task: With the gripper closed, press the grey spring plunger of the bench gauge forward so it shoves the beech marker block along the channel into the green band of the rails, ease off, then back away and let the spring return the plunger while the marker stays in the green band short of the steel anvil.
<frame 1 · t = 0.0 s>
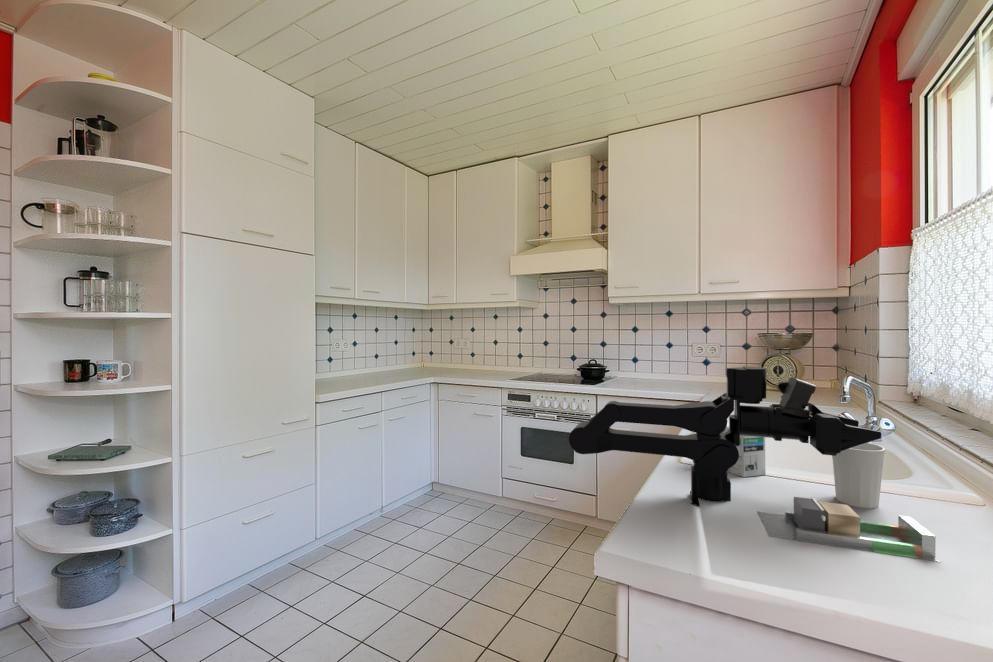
hand: (868, 428, 77), 17 cm above the counter, tool horizontal, fingers open, 9 cm apart
plunger: (809, 516, 71), point 4 cm above the counter, slide at 0.0 cm
cup: (856, 508, 83), on the counter
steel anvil: (915, 552, 67), resting on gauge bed
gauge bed: (838, 541, 70), on the counter
light bulb box: (736, 470, 105), on the counter
marker block: (838, 533, 70), point 1 cm above the counter, touching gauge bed
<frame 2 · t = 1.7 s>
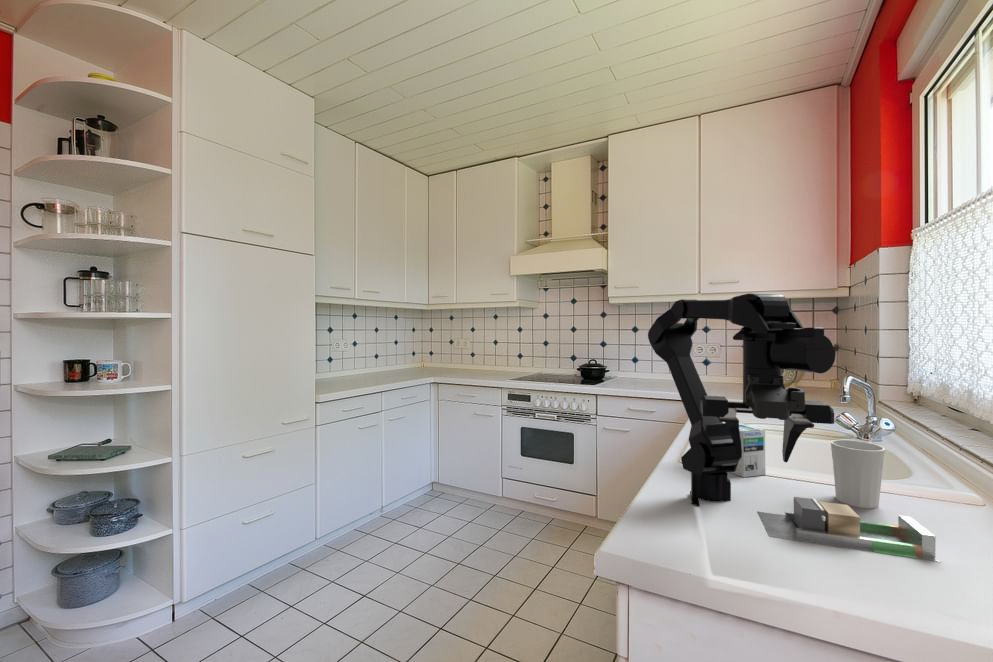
hand: (762, 459, 74), 12 cm above the counter, tool pointing down, fingers open, 6 cm apart
nothing on the counter moved.
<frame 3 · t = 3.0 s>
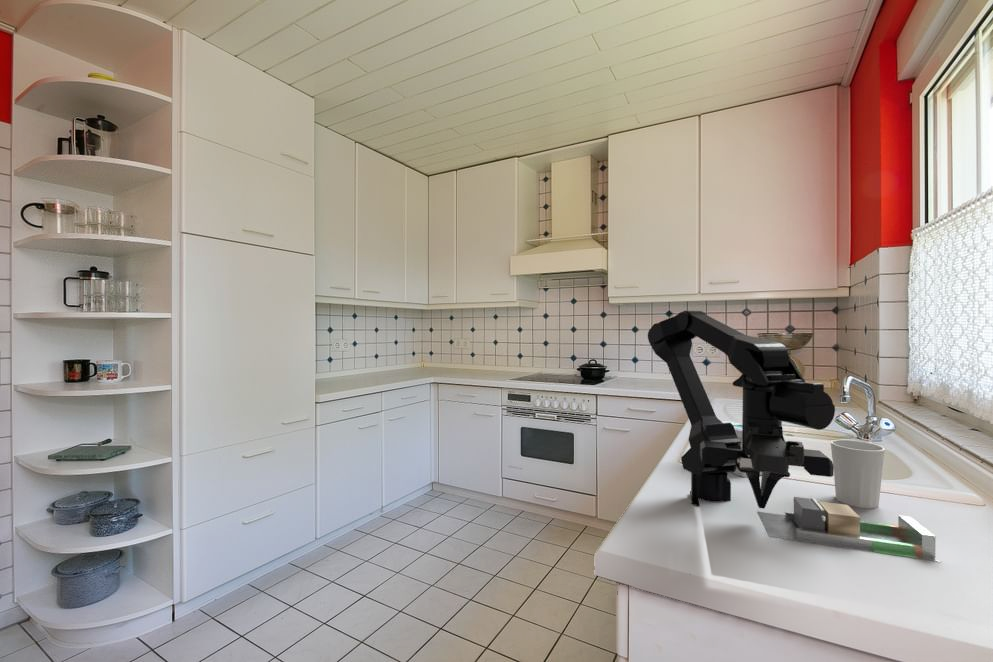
hand: (761, 507, 74), 4 cm above the counter, tool pointing down, fingers closed
nothing on the counter moved.
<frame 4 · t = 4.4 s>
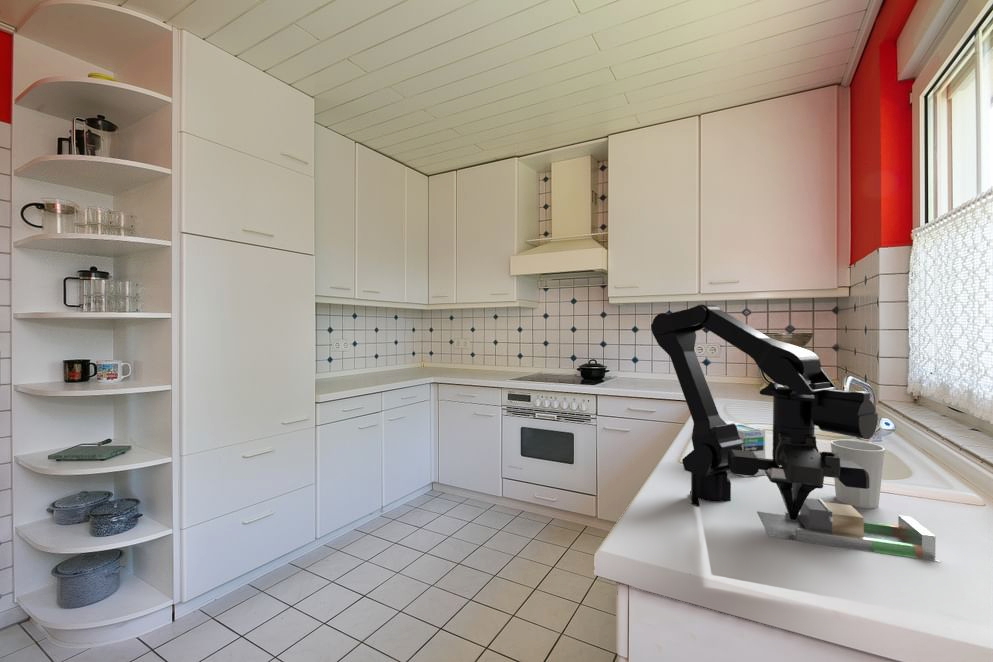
hand: (792, 519, 72), 3 cm above the counter, tool pointing down, fingers closed
plunger: (816, 517, 71), point 4 cm above the counter, slide at 1.0 cm, touching gripper, marker block
marker block: (841, 534, 70), point 1 cm above the counter, touching plunger
everything else where it was.
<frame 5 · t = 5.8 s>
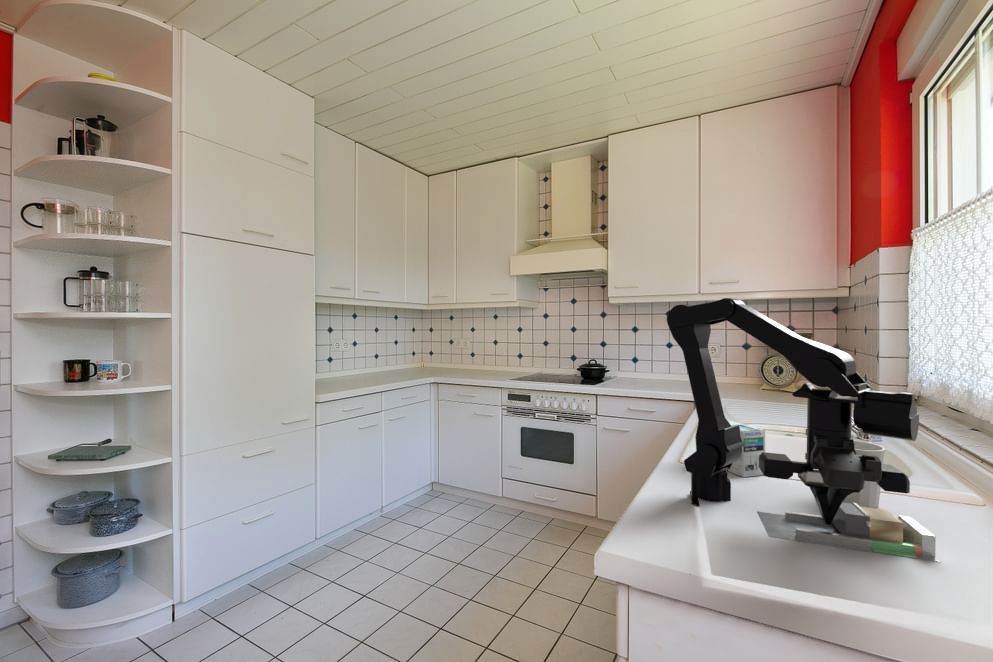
hand: (827, 523, 71), 3 cm above the counter, tool pointing down, fingers closed
plunger: (852, 521, 69), point 4 cm above the counter, slide at 5.7 cm, touching gripper, marker block
marker block: (878, 539, 68), point 1 cm above the counter, touching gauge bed, plunger
everything else where it was.
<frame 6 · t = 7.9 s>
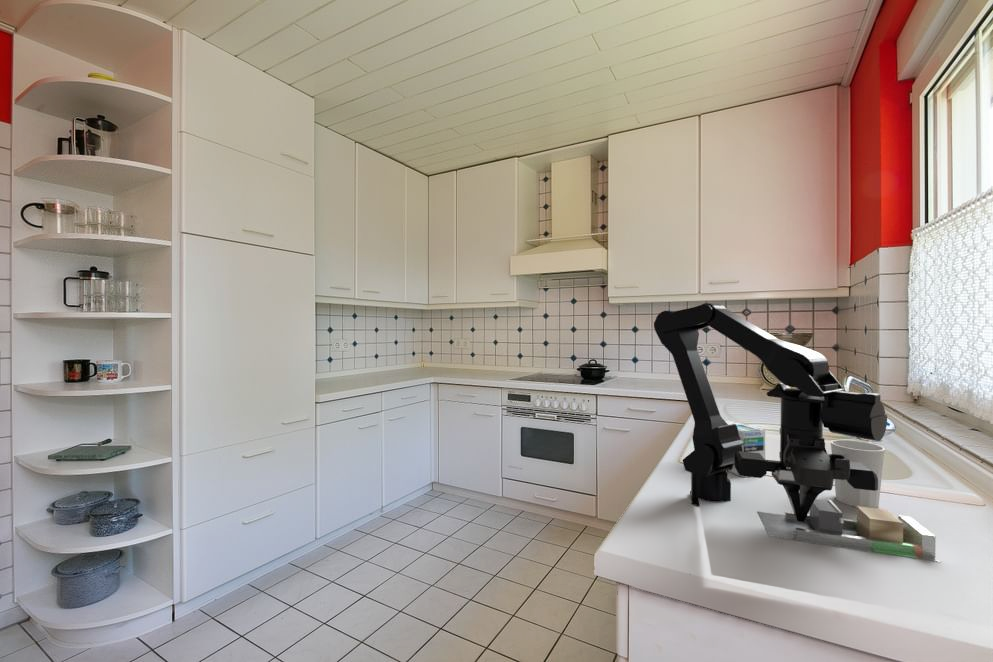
hand: (799, 520, 72), 2 cm above the counter, tool pointing down, fingers closed
plunger: (826, 518, 70), point 4 cm above the counter, slide at 2.3 cm, touching gripper
marker block: (878, 539, 68), point 1 cm above the counter, touching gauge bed
everything else where it was.
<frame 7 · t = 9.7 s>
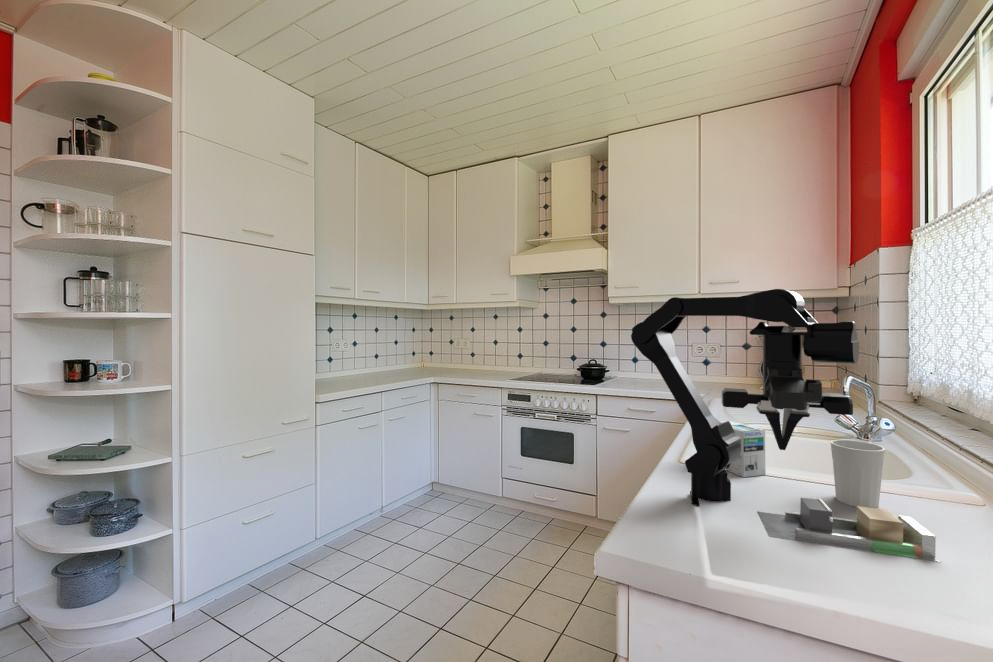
hand: (782, 449, 77), 13 cm above the counter, tool pointing down, fingers closed
plunger: (816, 517, 71), point 4 cm above the counter, slide at 1.0 cm
everything else where it was.
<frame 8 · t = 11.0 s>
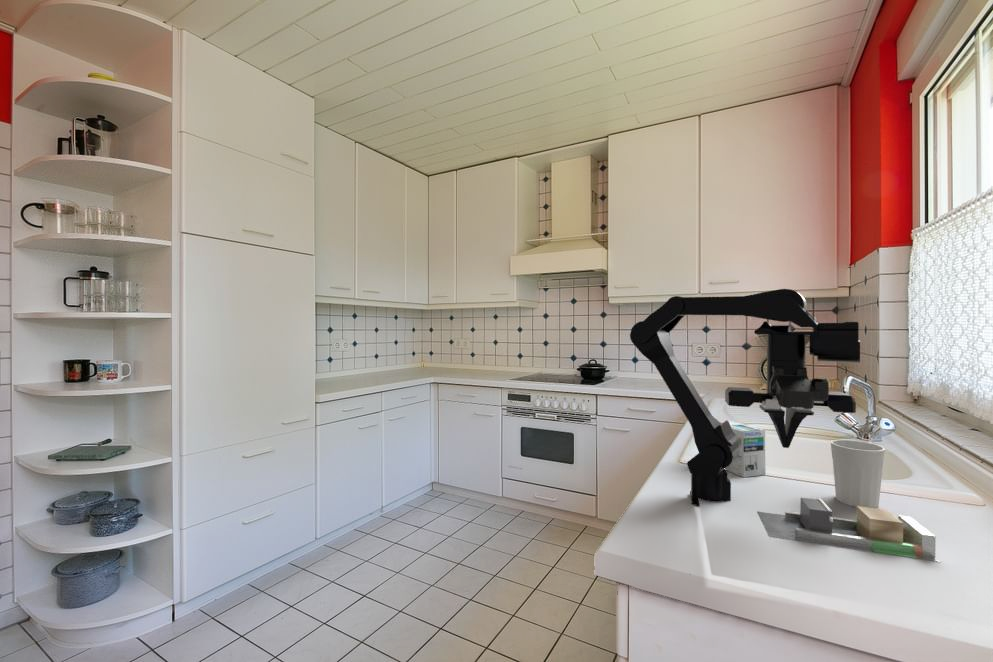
hand: (785, 447, 78), 13 cm above the counter, tool pointing down, fingers closed
nothing on the counter moved.
at the end: marker block 1.0 cm from the target spot on the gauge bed, point 1.2 cm above the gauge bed's base; plunger slide at 1.0 cm; marker block touching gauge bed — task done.
